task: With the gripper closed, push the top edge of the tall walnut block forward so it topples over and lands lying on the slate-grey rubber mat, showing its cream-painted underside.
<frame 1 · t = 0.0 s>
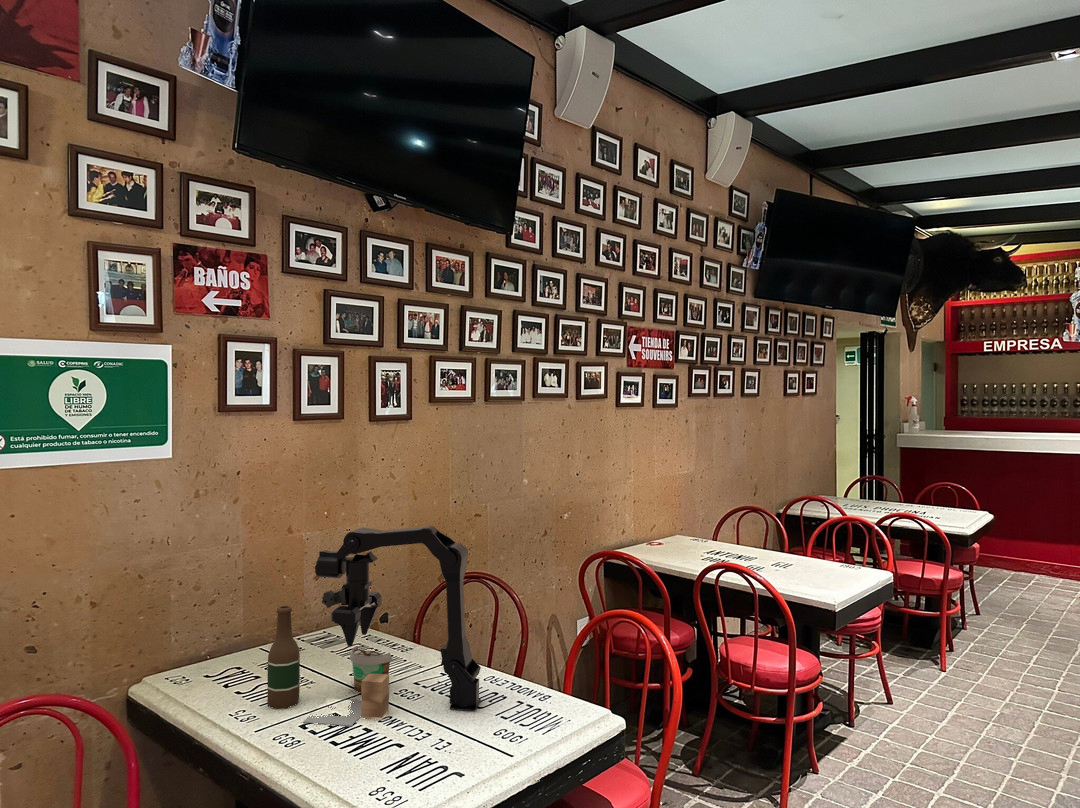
hand: (357, 640, 186), 15 cm above the table, fingers open, 9 cm apart
beer bottle: (283, 704, 182), on the table
mat: (339, 712, 177), on the table
block: (375, 715, 176), on the table
food container: (365, 691, 191), on the table
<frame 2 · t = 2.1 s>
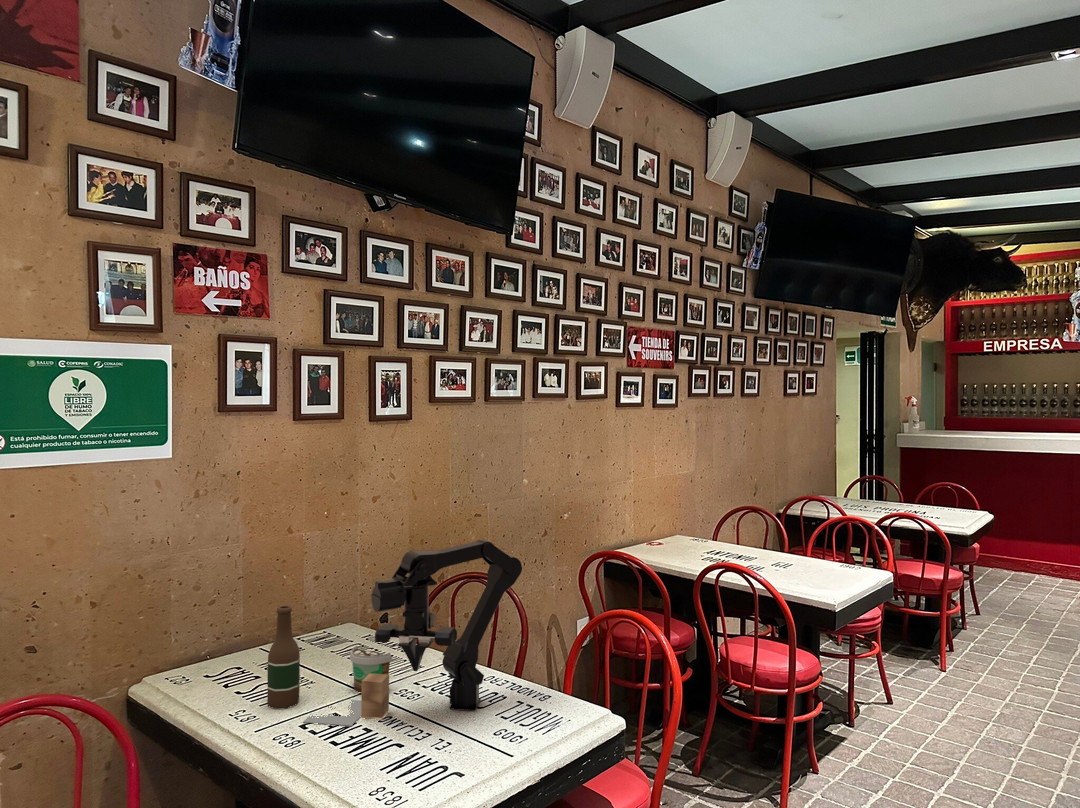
hand: (416, 670, 174), 11 cm above the table, fingers closed
nothing on the table moved.
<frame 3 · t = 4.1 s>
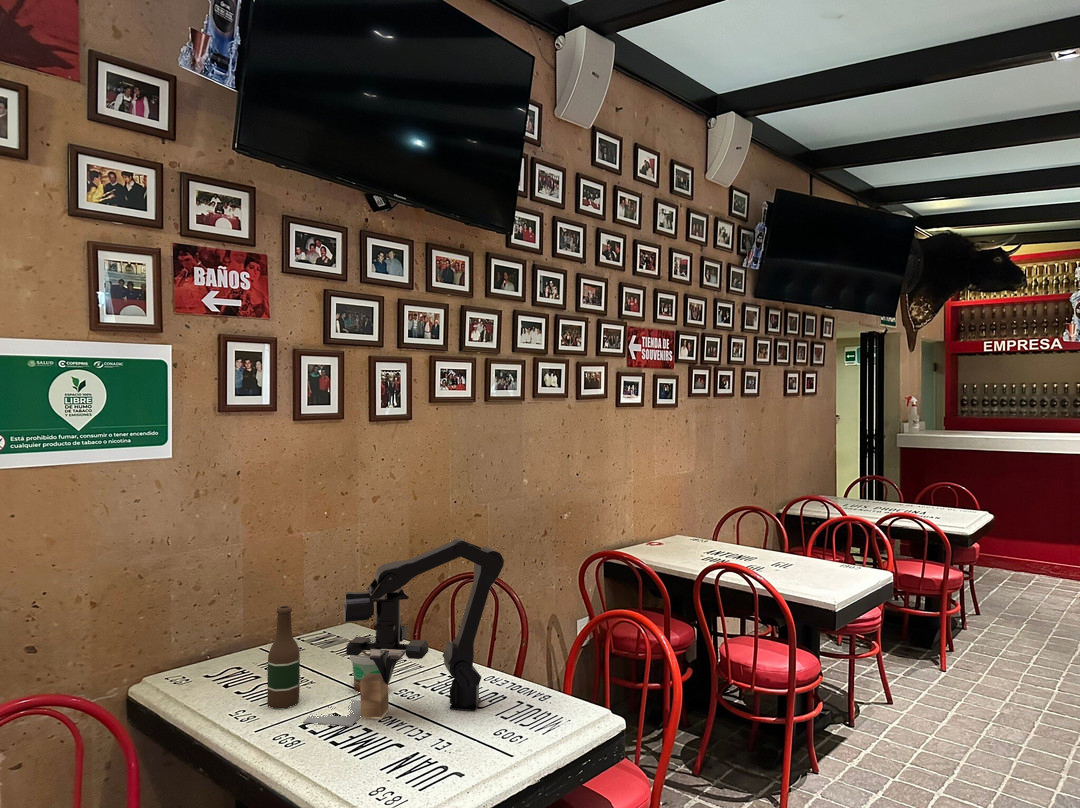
hand: (387, 683, 175), 8 cm above the table, fingers closed
block: (375, 714, 176), on the table, touching gripper
everything else where it was.
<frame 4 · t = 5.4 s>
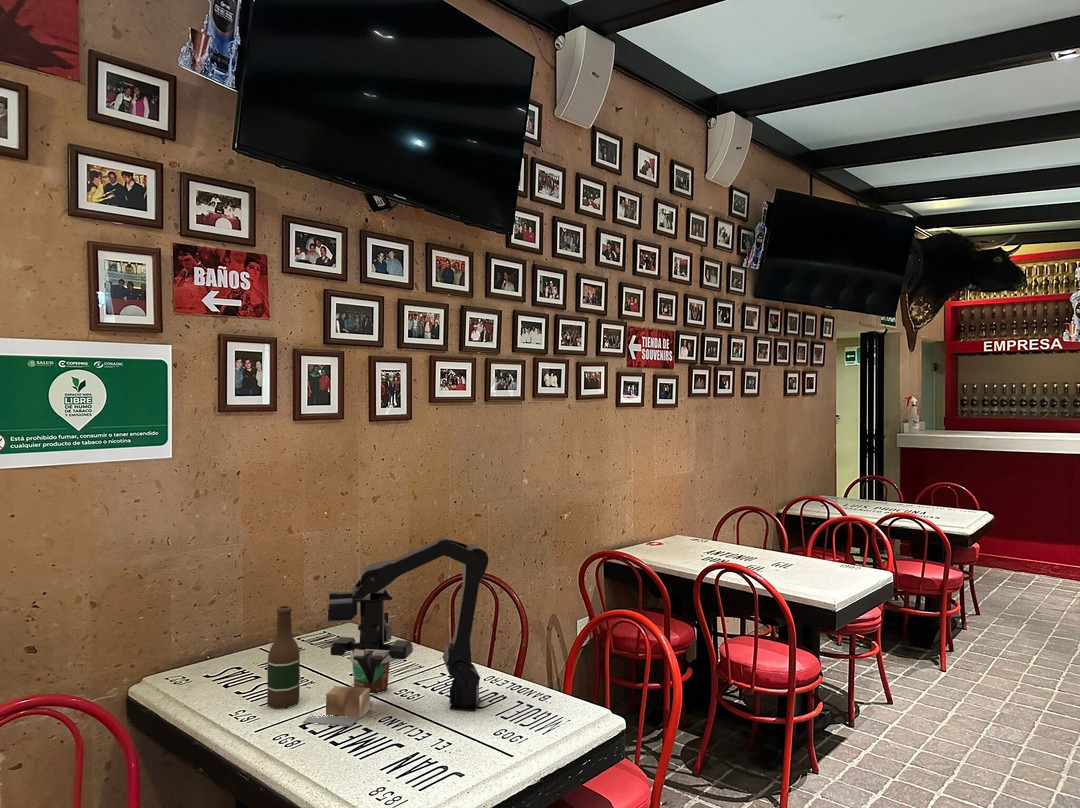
hand: (371, 683, 176), 8 cm above the table, fingers closed
block: (365, 702, 176), point 3 cm above the table, tilted 90°, touching mat
everything else where it was.
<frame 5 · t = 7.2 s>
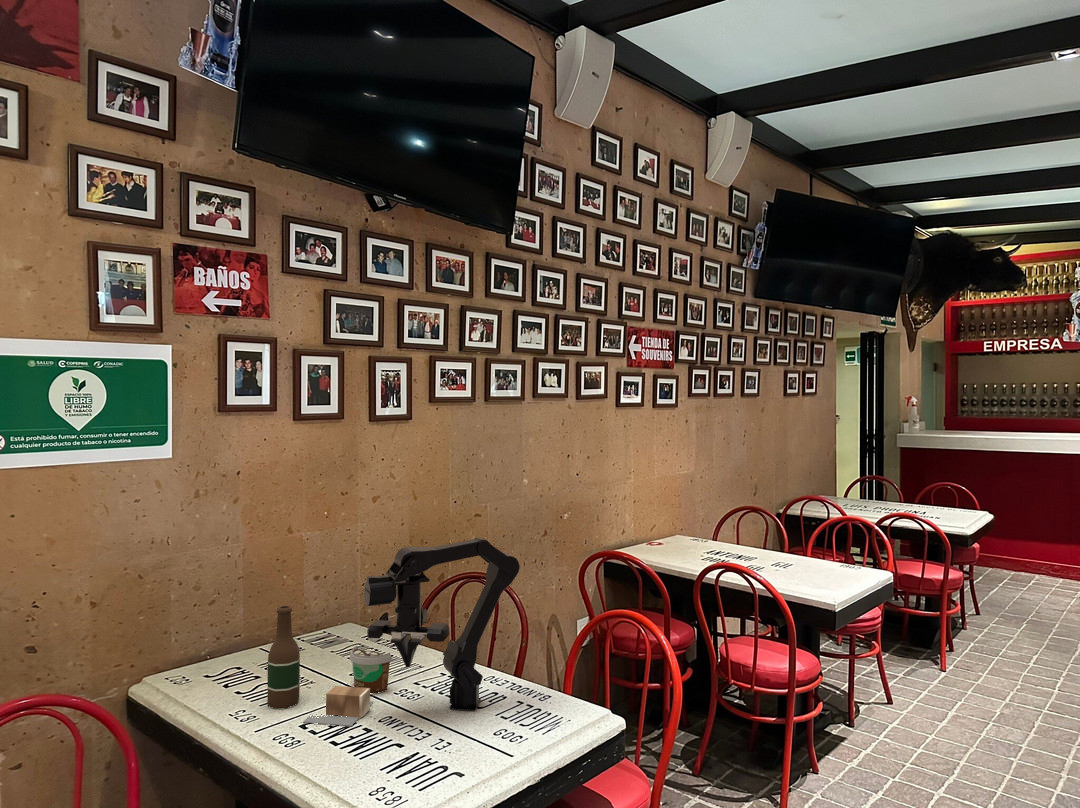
hand: (408, 666, 175), 12 cm above the table, fingers closed
nothing on the table moved.
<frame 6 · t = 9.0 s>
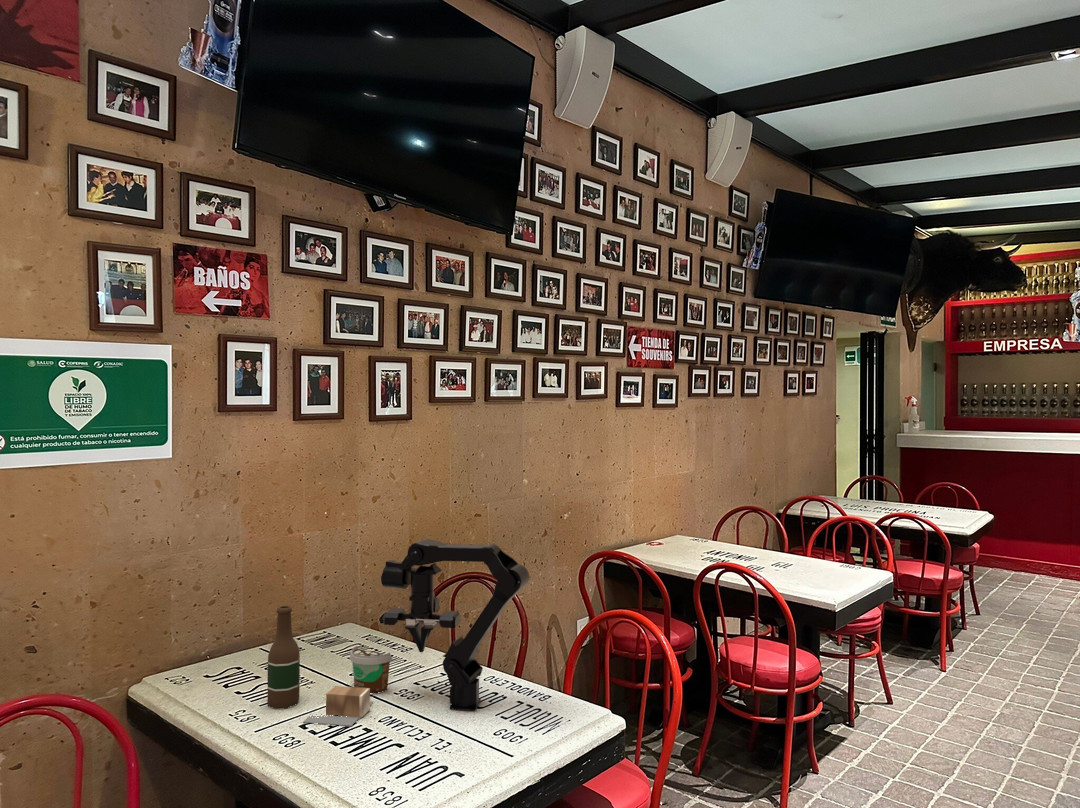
hand: (421, 651, 185), 12 cm above the table, fingers closed
nothing on the table moved.
at the end: block tilted 90°; block inside the target area (2.2 cm from its centre), point 2.8 cm above the table; block touching mat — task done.
